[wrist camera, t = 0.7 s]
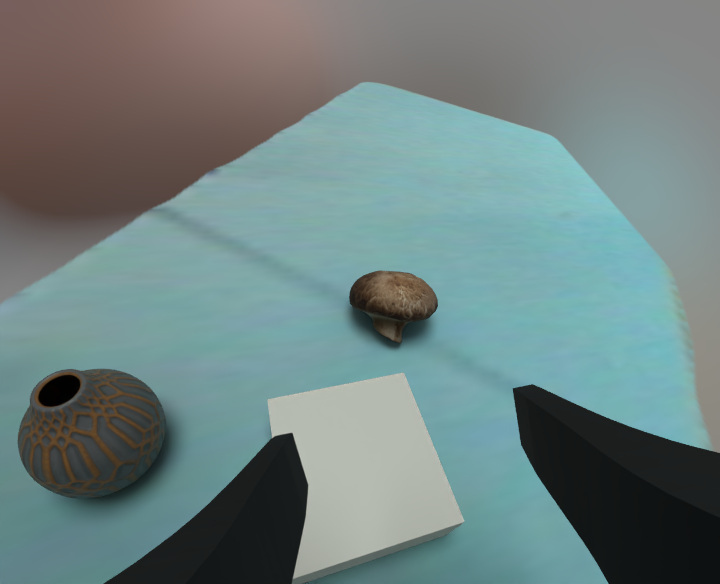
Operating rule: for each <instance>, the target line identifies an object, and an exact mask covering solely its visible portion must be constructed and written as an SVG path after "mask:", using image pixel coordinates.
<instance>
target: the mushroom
mask: <svg viewBox="0 0 720 584" xmlns="http://www.w3.org/2000/svg"><path fill="white" fill-rule="evenodd" d="M349 298H350V304H351V305H352V306H353V307H354V308H356V309H358V310H360V311H363V312H365V313H366V314H368V315H369V316H370V317H371V318H372V320H373V326H374V328H375V329H376V330H377V331H378V332H379V333H380V334H382V335H384V336H385V337H387V338H389V339H390V340H392V341H395V342H397V343H401V342H402V330H403V328H404V326H405V325H406V324H408V323H409V322H415V321H420V320H424V319H427V318H429V317H430V316H431V315H432V314H433V313H434V312H435V311H436V309H437V307H438V301H437V297H436V295H435V293H434V291H433V290H432V289H431V287H430V286H429V285H428V284H427V283H426V282H425V281H423V280H422V279H421V278H418V277H416V276H414V275H413V274H410V273H404V272H394V271H376V272H372V273H369V274H366V275H364V276H362V277H361V278H359V279H358V280H357V281H356V282H355V283H354V284H353V286H352V288H351V290H350V296H349Z"/></svg>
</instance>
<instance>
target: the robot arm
mask: <svg viewBox="0 0 720 584" xmlns="http://www.w3.org/2000/svg"><path fill="white" fill-rule="evenodd" d="M513 393H514V400H515V407H516V413H517V420H518V427H519V433H520V440H521V445H522V447H523V449H524V451H525V453H526V455H527V457H528V459H529V461H530V463H531V465H532V466H533V468H534V470H535V472H536V474H537V475H538V477H539V478H540V480H541V481H542V483H543V484H544V486H545V487H546V489H547V490H548V492H549V493H550V495H551V496H552V497H553V499H554V500H555V502H556V503H557V505H558V506H559V508H560V509H561V510H562V512H563V513H564V515H565V516H566V518H567V519H568V520H569V522H570V523H571V525H572V526H573V528H574V529H575V531H576V532H577V533H578V535H579V536H580V538H581V539H582V541H583V542H584V544H585V545H586V547H587V548H588V550H589V551H590V553H591V554H592V556H593V558H594V559H595V561H596V562H597V564H598V566H599V567H600V569H601V571H602V573H603V574H604V576H605V578H606V580H607V581H608V583H609V584H720V453H717V452H713V451H709V450H705V449H701V448H697V447H693V446H689V445H686V444H682V443H679V442H675V441H672V440H668V439H665V438H662V437H659V436H656V435H653V434H650V433H647V432H643V431H641V430H638V429H635V428H632V427H629V426H627V425H624V424H622V423H619V422H616V421H614V420H611V419H609V418H606V417H604V416H601V415H599V414H597V413H594V412H592V411H590V410H587V409H585V408H583V407H581V406H578V405H576V404H574V403H572V402H570V401H568V400H566V399H563V398H561V397H559V396H557V395H555V394H553V393H551V392H548V391H546V390H544V389H542V388H540V387H537V386H535V385H527V386H522V387H517V388H513ZM307 497H308V482H307V479H306V476H305V472H304V469H303V466H302V463H301V459H300V456H299V453H298V449H297V446H296V443H295V440H294V436H293V433H287V434H282V435H277V436H274V437H273V438H272V439H271V440H270V441H269V442H268V443H267V444H266V445H265V446H264V447H263V448H262V449H261V450H260V451H259V452H258V453H257V455H256V456H255V457H254V458H253V459H252V460H251V461H250V462H249V463H248V464H247V465H246V466H245V467H244V469H243V470H242V471H241V472H240V473H239V474H238V475H237V476H236V477H235V478H234V479H233V480H232V481H231V482H230V483H229V484H228V485H227V486H226V487H225V488H224V489H223V490H222V491H221V492H220V493H219V494H218V495H217V496H216V497H215V498H214V499H213V500H212V501H211V502H210V503H209V504H208V505H207V506H206V507H205V508H204V509H202V510H201V511H200V512H199V513H198V514H197V515H196V516H195V517H193V518H192V519H191V520H190V521H189V522H187V523H186V524H185V525H184V526H183V527H182V528H180V529H179V530H178V531H177V532H176V533H174V534H173V535H172V536H170V537H169V538H168V539H166V540H165V541H164V542H162V543H161V544H160V545H158V546H157V547H156V548H154V549H153V550H152V551H150V552H149V553H148V554H146V555H145V556H144V557H142V558H141V559H140V560H138V561H137V562H135V563H134V564H133V565H131V566H130V567H128V568H127V569H125V570H124V571H122V572H121V573H119V574H118V575H116V576H115V577H113V578H112V579H110V580H108V581H107V582H105V583H104V584H292V580H293V576H294V571H295V566H296V561H297V557H298V552H299V547H300V543H301V538H302V533H303V528H304V523H305V518H306V509H307Z"/></svg>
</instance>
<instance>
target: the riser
mask: <svg viewBox="0 0 720 584" xmlns="http://www.w3.org/2000/svg"><path fill="white" fill-rule="evenodd" d="M268 408H269V416H270V424H271V432H272V438H273V437H274V436H277V435H282V434H287V433H293V436H294V440H295V443H296V446H297V449H298V453H299V456H300V459H301V463H302V466H303V469H304V472H305V476H306V479H307V482H308V497H307V509H306V518H305V523H304V528H303V533H302V538H301V543H300V547H299V552H298V557H297V561H296V566H295V571H294V576H293V580H292V584H303V583H306V582H309V581H312V580H315V579H318V578H321V577H324V576H327V575H330V574H333V573H336V572H339V571H342V570H345V569H348V568H350V567H353V566H356V565H359V564H362V563H365V562H368V561H371V560H374V559H377V558H380V557H383V556H386V555H389V554H392V553H395V552H398V551H401V550H404V549H407V548H410V547H413V546H416V545H419V544H421V543H424V542H427V541H430V540H433V539H436V538H439V537H442V536H445V535H447V534H449V533H450V532H451V531H453V530H454V529H455V528H457V527H458V526H460V525H461V524H462V523H464V519H463V517H462V514H461V512H460V509H459V507H458V505H457V502H456V500H455V497H454V495H453V492H452V490H451V487H450V485H449V482H448V480H447V478H446V475H445V473H444V470H443V468H442V465H441V463H440V460H439V458H438V455H437V453H436V450H435V448H434V446H433V443H432V441H431V438H430V436H429V433H428V431H427V428H426V426H425V423H424V421H423V419H422V416H421V414H420V411H419V409H418V406H417V404H416V401H415V399H414V396H413V394H412V391H411V389H410V387H409V384H408V382H407V379H406V377H405V374H404V373H399V374H394V375H389V376H384V377H379V378H374V379H369V380H363V381H358V382H353V383H348V384H343V385H338V386H333V387H328V388H323V389H318V390H313V391H308V392H302V393H297V394H292V395H287V396H282V397H277V398H272V399H268Z"/></svg>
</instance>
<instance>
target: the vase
mask: <svg viewBox="0 0 720 584" xmlns="http://www.w3.org/2000/svg"><path fill="white" fill-rule="evenodd" d="M165 427H166V426H165V415H164V411H163V409H162V406H161V404H160V402H159V400H158V398H157V396H156V395H155V393H154V392H153V391H152V389H151V388H150V387H148V386H147V385H146V384H145V383H144V382H142V381H141V380H139V379H138V378H136V377H134V376H132V375H130V374H127V373H125V372H121V371H117V370H112V369H92V370H85V371H79V370H74V369H67V370H61V371H58V372H55V373H53V374H51V375H49V376H47V377H45V378H44V379H43V380H41V381H40V382H39V383H38V384H37V385H36V387H35V388H34V389H33V391H32V393H31V397H30V406H29V408H28V409H27V411H26V413H25V415H24V417H23V419H22V422H21V425H20V428H19V433H18V449H19V454H20V457H21V460H22V463H23V465H24V467H25V469H26V470H27V472H28V473H29V475H30V476H31V477H32V478H33V479H34V480H35V481H36V482H37V483H38V484H40V485H41V486H43V487H44V488H46V489H48V490H50V491H52V492H54V493H57V494H59V495H62V496H66V497H71V498H94V497H100V496H104V495H108V494H111V493H114V492H116V491H119V490H121V489H123V488H125V487H127V486H128V485H130V484H131V483H133V482H134V481H136V480H137V479H138V478H139V477H141V476H142V475H143V474H144V473H145V472H146V471H147V470H148V469H149V467H150V466H151V465H152V463H153V462H154V461H155V459H156V457H157V456H158V454H159V451H160V449H161V447H162V444H163V441H164V436H165Z"/></svg>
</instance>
